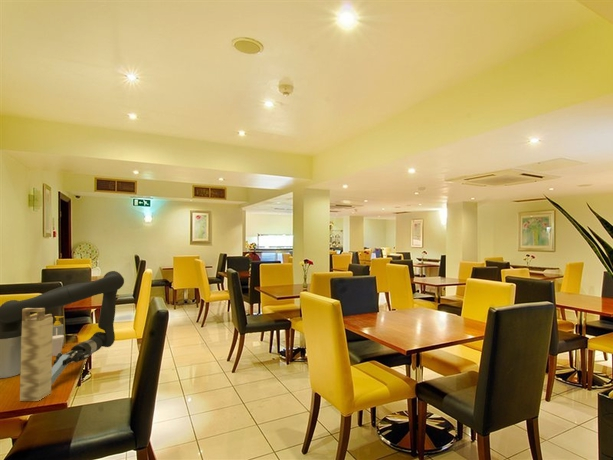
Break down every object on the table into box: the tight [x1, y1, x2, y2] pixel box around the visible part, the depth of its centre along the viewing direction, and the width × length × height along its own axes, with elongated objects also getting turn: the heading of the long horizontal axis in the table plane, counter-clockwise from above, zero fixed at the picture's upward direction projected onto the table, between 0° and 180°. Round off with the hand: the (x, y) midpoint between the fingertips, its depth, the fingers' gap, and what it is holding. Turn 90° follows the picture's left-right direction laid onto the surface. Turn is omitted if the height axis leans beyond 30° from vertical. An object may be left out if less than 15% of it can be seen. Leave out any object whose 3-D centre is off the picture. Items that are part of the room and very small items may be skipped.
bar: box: [51, 355, 70, 386], centre depth 143 cm, size 3×14×3 cm, turn 2°
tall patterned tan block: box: [19, 308, 54, 402], centre depth 132 cm, size 7×6×35 cm
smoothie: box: [52, 328, 65, 357], centre depth 180 cm, size 6×6×14 cm
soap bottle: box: [52, 315, 65, 349], centre depth 191 cm, size 7×7×18 cm
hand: (59, 363), depth 144 cm, fingers closed on bar, 3 cm apart
